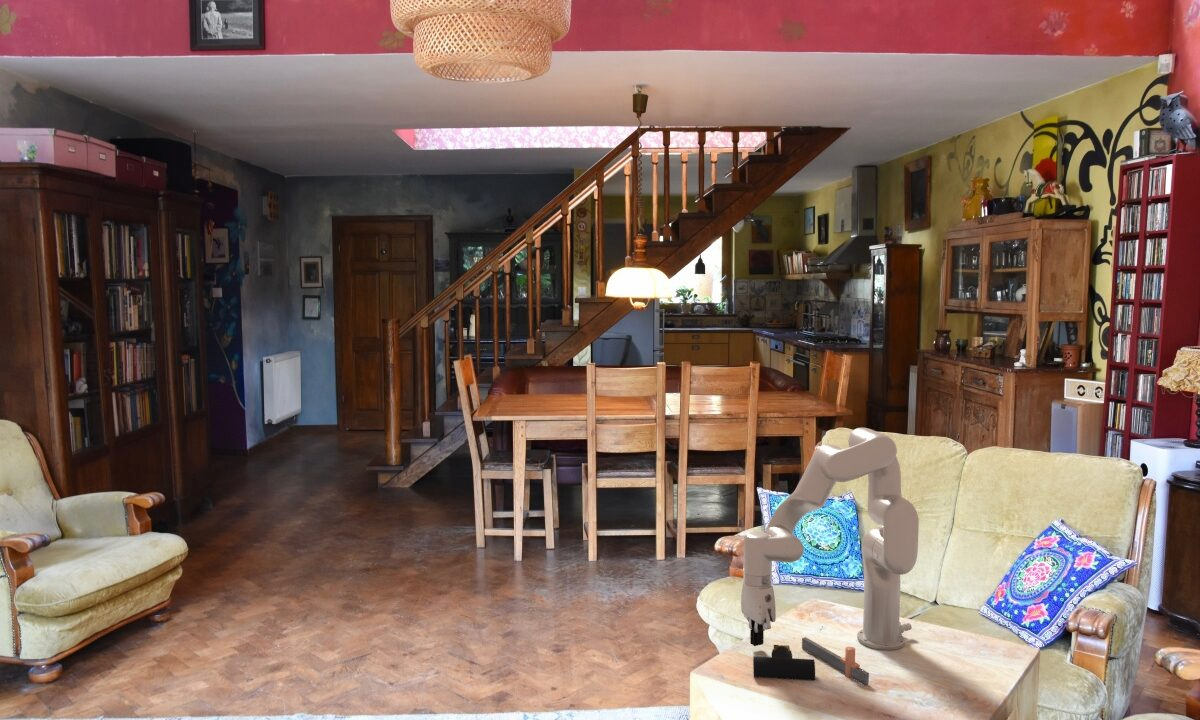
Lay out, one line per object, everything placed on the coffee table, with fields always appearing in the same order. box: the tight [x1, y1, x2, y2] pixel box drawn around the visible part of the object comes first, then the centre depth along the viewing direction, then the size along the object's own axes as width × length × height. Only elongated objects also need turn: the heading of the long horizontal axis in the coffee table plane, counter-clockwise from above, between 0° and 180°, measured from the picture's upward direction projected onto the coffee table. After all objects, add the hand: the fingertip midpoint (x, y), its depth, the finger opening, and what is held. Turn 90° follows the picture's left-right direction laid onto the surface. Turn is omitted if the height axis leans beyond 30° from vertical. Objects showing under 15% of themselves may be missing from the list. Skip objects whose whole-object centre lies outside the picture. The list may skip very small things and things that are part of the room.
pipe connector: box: [752, 644, 816, 681], centre depth 219 cm, size 12×5×15 cm
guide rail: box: [801, 636, 870, 686], centre depth 221 cm, size 2×24×7 cm, turn 26°
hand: (756, 644), depth 231 cm, fingers closed
